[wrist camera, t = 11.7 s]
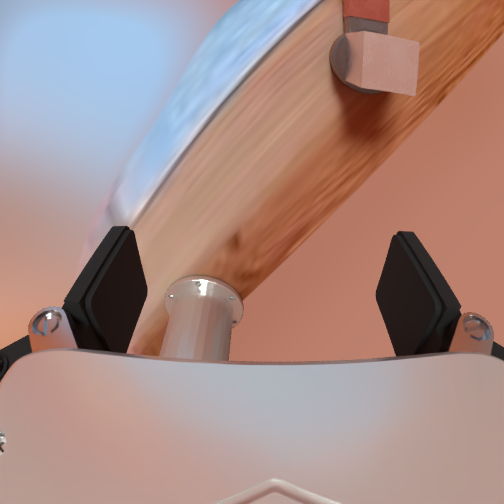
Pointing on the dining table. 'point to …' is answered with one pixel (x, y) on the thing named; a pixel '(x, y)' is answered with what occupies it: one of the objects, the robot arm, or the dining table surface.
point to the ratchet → (358, 19)
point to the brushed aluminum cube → (381, 62)
